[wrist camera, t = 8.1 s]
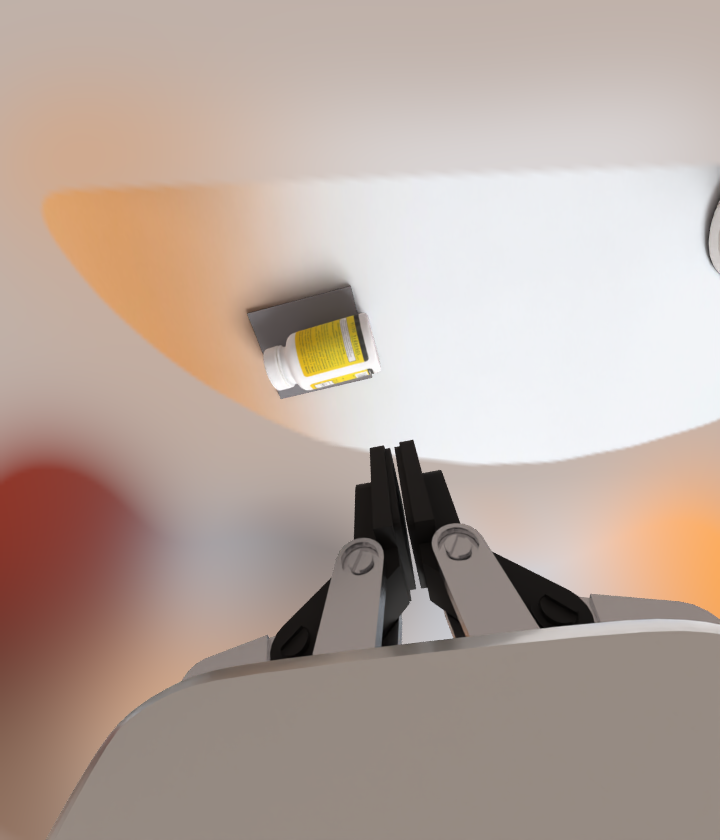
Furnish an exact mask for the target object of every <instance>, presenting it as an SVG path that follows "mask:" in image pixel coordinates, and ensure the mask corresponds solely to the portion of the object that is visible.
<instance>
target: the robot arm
mask: <svg viewBox="0 0 720 840" xmlns="http://www.w3.org/2000/svg"><path fill="white" fill-rule="evenodd" d="M709 252H710V257H711V260H712V263H713V265H714V267H715V268H716V270H717V271H718V272H719V274H720V201H719V203H718V205H717V208H716V210H715V212H714V216H713V220H712V223H711V227H710V234H709ZM399 444H400V446H398V447H394V448H395V454H396V460H397V466H398V472H399V478H400V485H401V491H402V498H403V503H404V509H403V504H402V499H401V495H400V490H399V486H398V481H397V477H396V472H395V468H394V463H393V459H392V454H391V450H390V448H388V449H385V447H384V445H383V446H378V447H373V448H370V466H371V482H370V483H365V484H359V485H356V489H355V521H354V522H355V523H354V540H352V541H350V542H348V543H347V544H346V545H344V546H343V548H342V549H341V550H340V551H339V554H338V556H337V558H336V562H335V566H334V570H333V574H332V578H331V579H330V580H329V581H328V582H327V583H326V584H325V585H324V586H323V587H322V588H321V589H320V590H319V591H318V592H317V593H316V594H315V595H314V596H313V597H312V598H311V599H310V600H309V601H308V602H307V603H306V604H305V605H304V606H303V607H302V608H301V609H300V610H299V611H298V612H297V613H296V614H295V615H294V616H293V617H292V618H291V619H290V620H289V621H288V622H287V623H286V624H285V625H284V626H283V627H282V628H281V629H280V631H279V632H278V633H277V634H276V636H274V637H271V638H269V637H268V635H266V636H263V637H260V638H258V639H255V640H253V641H250V642H247V643H245V644H242V645H240V646H237V647H235V648H232V649H229V650H227V651H224V652H222V653H219V654H216V655H213V656H211V657H208V658H206V659H204V660H202V661H200V662H199V663H197V664H195V665H194V666H193V667H192V668H191V669H190V670H189V671H188V672H187V674H186V675H185V677H184V678H183V680H182V681H181V682H179V683H177V684H175V685H173V686H171V687H169V688H167V689H165V690H164V691H162V692H160V693H158V694H157V695H155V696H153V697H151V698H150V699H148V700H147V701H145V702H144V703H143V704H141V705H140V706H138V707H137V708H136V709H134V710H133V711H132V712H131V713H130V714H128V715H127V716H126V717H125V718H124V719H123V720H122V721H121V722H120V723H119V724H118V725H117V727H116V728H115V729H114V730H113V731H112V732H111V734H110V735H109V736H108V737H107V739H106V740H105V742H104V743H103V744H102V746H101V747H100V748H99V750H98V751H97V753H96V754H95V756H94V758H93V759H92V760H91V762H90V764H89V766H88V767H87V769H86V770H85V772H84V774H83V775H82V777H81V779H80V780H79V782H78V784H77V785H76V787H75V789H74V790H73V792H72V794H71V796H70V797H69V799H68V801H67V803H66V804H65V806H64V808H63V810H62V811H61V813H60V815H59V817H58V818H57V820H56V822H55V824H54V826H53V827H52V829H51V831H50V833H49V835H48V837H47V838H46V840H720V619H718V618H717V617H716V616H714V615H713V614H711V613H710V612H708V611H706V610H704V609H702V608H700V607H698V606H695V605H693V604H688V603H684V602H679V601H667V600H655V599H644V598H632V597H620V596H609V595H597V594H590V598H584V597H578V596H577V595H575V594H574V593H572V592H571V591H569V590H567V589H566V588H564V587H562V586H559V585H558V584H556V583H553V582H552V581H549V580H548V579H546V578H544V577H542V576H540V575H538V574H536V573H534V572H532V571H530V570H528V569H526V568H524V567H522V566H520V565H518V564H516V563H514V562H512V561H510V560H508V559H506V558H503V557H502V556H500V555H498V554H496V553H494V552H492V551H491V550H490V548H489V546H488V545H487V543H486V542H485V540H484V538H483V537H482V535H481V534H480V533H479V532H478V531H477V530H476V529H474V528H472V527H471V526H468V525H465V524H460V521H459V518H458V516H457V513H456V510H455V507H454V504H453V502H452V499H451V496H450V493H449V490H448V488H447V485H446V482H445V479H444V476H443V473H442V471H441V470H438V471H432V472H427V473H422V471H421V467H420V463H419V460H418V456H417V452H416V448H415V444H414V441H413V440H410V441H404V442H399ZM404 510H405V516H406V522H407V526H408V532H409V536H410V540H411V545H412V549H413V554H414V558H415V563H416V567H417V572H418V576H419V580H420V585H421V588H428V591H429V597H430V600H431V601H432V602H433V603H435V604H436V605H438V606H439V607H440V608H442V609H443V610H444V614H445V617H446V620H447V623H448V625H449V628H450V630H451V633H452V636H453V639H446V640H437V641H428V642H419V643H411V644H403V645H402V612H403V611H404V610H405V609H406V607H407V606H408V605H409V603H410V602H409V601H411V595H410V590H413V589H416V585H415V580H414V573H413V567H412V561H411V554H410V548H409V541H408V535H407V528H406V522H405V516H404Z"/></svg>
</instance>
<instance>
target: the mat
mask: <svg viewBox="0 0 720 840" xmlns="http://www.w3.org/2000/svg"><path fill="white" fill-rule="evenodd" d="M356 314H357V311H356V306H355V302H354V298H353V294H352V289H351V286H349V287H345V288H341V289H338V290H334V291H330V292H326V293H323V294H319V295H315V296H311V297H307V298H304V299H300V300H296V301H292V302H288V303H285V304H281V305H277V306H273V307H270V308H266V309H262V310H258V311H254V312H251V313H248V314H247V315H248V317H249V320H250V322H251V325H252V327H253V330H254V332H255V335H256V337H257V340H258V342H259V345H260V347H261V350H262V353H263V355H264V351H265V350H266V349H268V348H272V347H275V346H280V345H281V346H283V347H285V346H286V341H287V339H288V337H289V336H290V335H291V334H293V333H295V332H298V331H301V330H305V329H308V328H312V327H315V326H319V325H322V324H325V323H329V322H332V321H335V320H339V319H342V318H346V317H349V316H353V315H356ZM368 378H372V374H370V375H366V376H363V377H359V378H355V379H351V380H347V381H344V382H340V383H336V384H332V385H329V386H325V387H321V388H317V389H313V390H305V389H303V388H301V387H300V386H299V385H298V384H295V386H294V387H291V388H288V389H284V390H277V391H278V393H279V396H280V398H281V399H283V398H287V397H292V396H296V395H300V394H304V393H309V392H313V391H317V390H322V389H326V388H330V387H334V386H339V385H343V384H347V383H351V382H356V381H360V380H364V379H368Z"/></svg>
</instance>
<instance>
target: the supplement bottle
mask: <svg viewBox="0 0 720 840" xmlns="http://www.w3.org/2000/svg"><path fill="white" fill-rule="evenodd" d="M263 357H264V365H265V369H266V372H267V375H268V377H269V379H270V381H271V383H272V385H273V386H274V387H275V388H276V389H277V390H284V389H288V388H291V387H294V386H295V384H298V385H299V386H300V387H301V388H303V389H305V390H313V389H317V388H321V387H325V386H329V385H332V384H336V383H340V382H344V381H347V380H351V379H355V378H359V377H363V376H366V375H370V374H374V373H377V372H379V371H380V370H381V366H380V361H379V357H378V352H377V348H376V345H375V341H374V337H373V334H372V330H371V326H370V322H369V318H368V315H367V314H366V313H361V314H356V315H353V316H349V317H346V318H342V319H339V320H335V321H332V322H329V323H325V324H322V325H319V326H315V327H312V328H308V329H305V330H301V331H298V332H295V333H293V334H291V335H290V336H289V337H288V339H287V341H286V346H285V347H283V346H281V345H280V346H275V347H272V348H268V349H266V350H265V351H264V356H263Z"/></svg>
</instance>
